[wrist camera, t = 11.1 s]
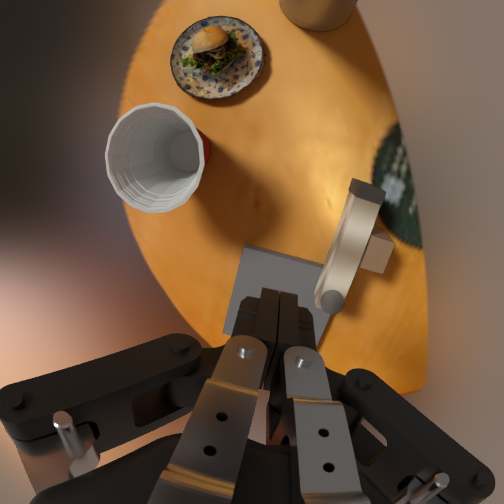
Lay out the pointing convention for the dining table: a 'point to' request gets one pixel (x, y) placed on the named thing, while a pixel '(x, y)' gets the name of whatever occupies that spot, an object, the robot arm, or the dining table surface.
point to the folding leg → (348, 245)
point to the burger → (217, 57)
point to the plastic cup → (155, 157)
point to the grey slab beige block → (296, 276)
